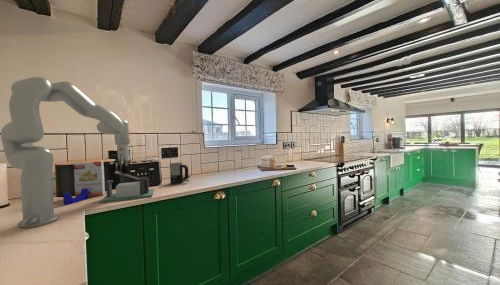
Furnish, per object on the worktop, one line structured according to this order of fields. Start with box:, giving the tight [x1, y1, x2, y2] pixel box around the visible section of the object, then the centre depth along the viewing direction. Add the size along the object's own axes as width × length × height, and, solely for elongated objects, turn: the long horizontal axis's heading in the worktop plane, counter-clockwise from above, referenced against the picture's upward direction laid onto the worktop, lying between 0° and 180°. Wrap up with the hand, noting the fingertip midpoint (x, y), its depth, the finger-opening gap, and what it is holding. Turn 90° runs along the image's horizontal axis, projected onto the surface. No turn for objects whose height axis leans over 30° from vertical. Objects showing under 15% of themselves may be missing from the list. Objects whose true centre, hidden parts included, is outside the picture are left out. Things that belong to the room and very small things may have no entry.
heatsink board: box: [100, 176, 154, 204], centre depth 133 cm, size 18×25×10 cm
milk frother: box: [169, 162, 191, 185], centre depth 173 cm, size 14×16×15 cm
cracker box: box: [73, 160, 106, 198], centre depth 137 cm, size 14×6×21 cm, turn 112°
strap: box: [114, 170, 141, 181], centre depth 133 cm, size 16×3×1 cm, turn 110°
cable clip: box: [62, 189, 90, 206], centre depth 126 cm, size 12×4×6 cm, turn 169°
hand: (125, 172), depth 133 cm, fingers closed
